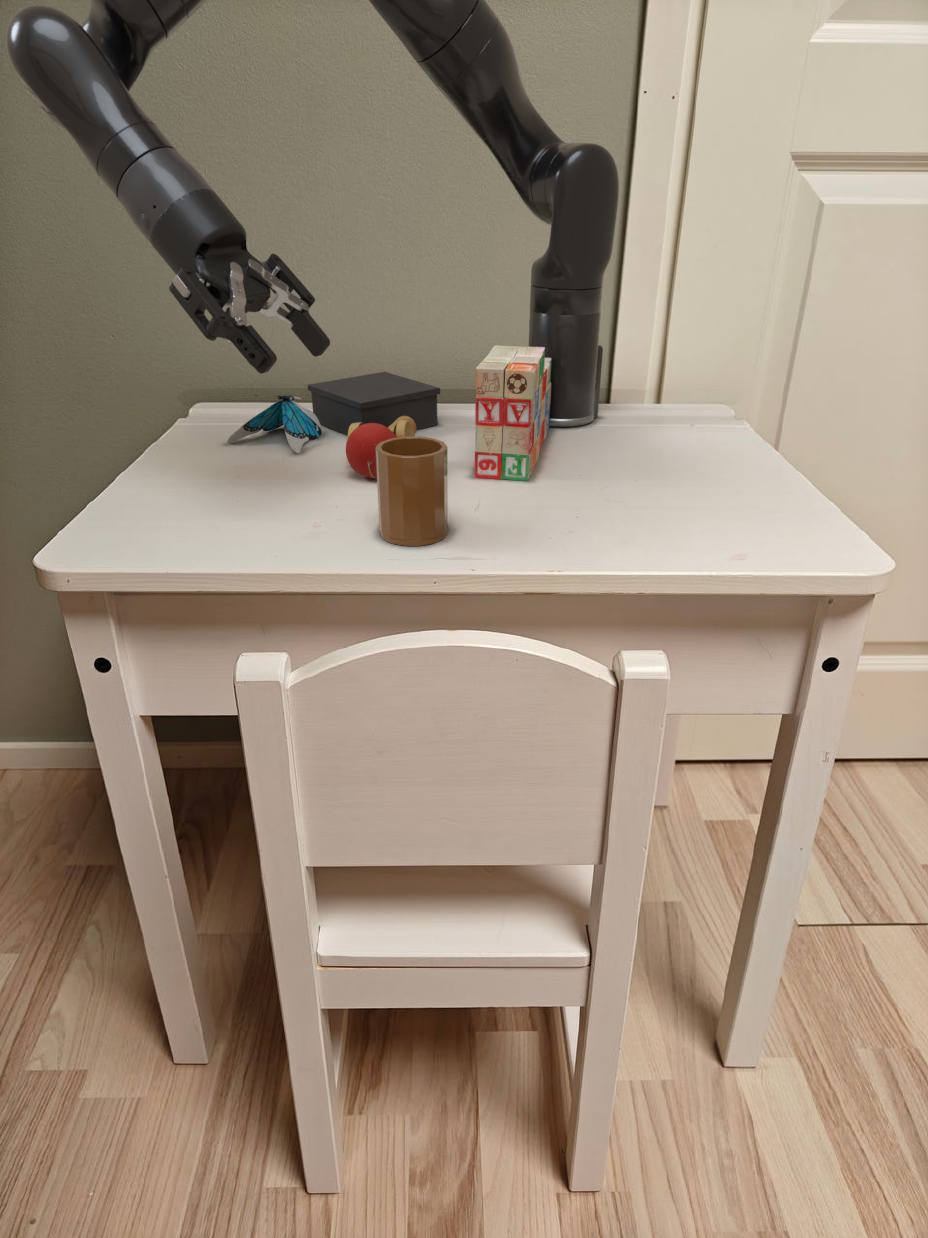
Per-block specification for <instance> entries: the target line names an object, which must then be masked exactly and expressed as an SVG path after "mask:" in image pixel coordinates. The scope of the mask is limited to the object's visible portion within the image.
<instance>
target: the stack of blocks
mask: <svg viewBox="0 0 928 1238" xmlns="http://www.w3.org/2000/svg"><path fill="white" fill-rule="evenodd" d="M551 359H552V358H545V347H528V346H520V345H519V346H517V345H516V346H515V345H514V346H513V345H512V346H511V345H494V346H493V347H492V348H491V349H490V351H489V353H488V354H487V356H485V358H484V359H482V361H481V362H480V363H479V364H478V366H476V369H475V406H474V407H475V408H474V411H475V412H474V417H475V419H474V424H475V447H474V448H475V450H474V477H475V478H476V479H477V478H479V479H492V480H510V481H522V482H523V481H525V482H528V481H530V477H531V475H532V473H533V472H534V470H535V467H536V464H537V462H538V460H539V457H540V452H541V449H542V445H543V443H544V441H545V440H546V438H547V435H548V432H549V429H550V426H549V417H550V400H551V382H550V379H551Z"/></svg>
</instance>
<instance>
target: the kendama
mask: <svg viewBox="0 0 928 1238" xmlns="http://www.w3.org/2000/svg"><path fill="white" fill-rule="evenodd" d="M416 433H417V430H416V424H415V422H414V420H413V419H412V418H410V417H408V416H401V417H399V418H397V419H396V421H395V422H394V423H392V424H391V425H390V426H389V427H388V428H387V427H386V426H384V425H381V424H377V423H367V424H364V423H362V422H359V423H352V424H351V425H350V427H349V430H348V435H347V439H346V443H345V455H346V460H347V462H348V464H349V466H350V467H351V469H352V470H353V471H354V472H355V473H357V474H358V475H360V476H362V477H365V478H369V479H375V480H377V467H376V446H377V445H378V444H379V443H380V442H382V441H385V440H388V439H392V438H399V437H416V436H415V435H416Z"/></svg>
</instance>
